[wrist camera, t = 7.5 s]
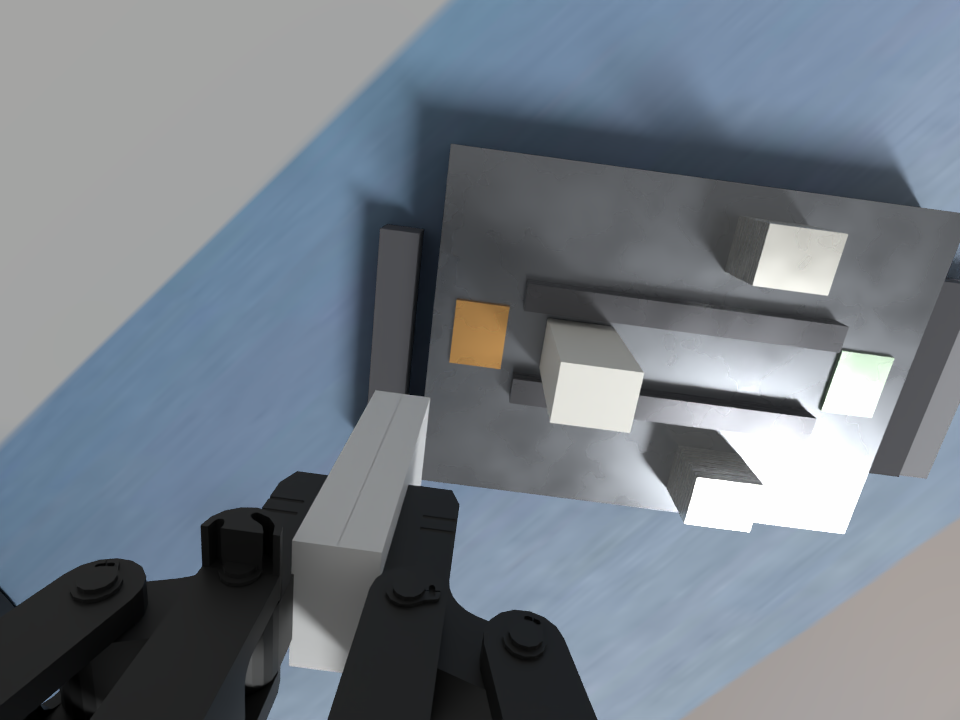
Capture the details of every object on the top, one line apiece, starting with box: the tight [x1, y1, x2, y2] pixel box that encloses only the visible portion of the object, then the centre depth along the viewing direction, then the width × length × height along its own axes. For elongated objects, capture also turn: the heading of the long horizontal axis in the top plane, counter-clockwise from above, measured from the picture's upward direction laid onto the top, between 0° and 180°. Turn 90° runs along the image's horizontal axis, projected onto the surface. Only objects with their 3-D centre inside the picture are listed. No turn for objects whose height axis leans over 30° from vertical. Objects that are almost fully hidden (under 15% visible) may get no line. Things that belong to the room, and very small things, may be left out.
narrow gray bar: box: [869, 278, 960, 479], centre depth 29 cm, size 3×10×2 cm, turn 173°
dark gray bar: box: [368, 224, 424, 403], centre depth 30 cm, size 2×12×2 cm, turn 173°
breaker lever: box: [539, 318, 644, 433], centre depth 24 cm, size 3×2×6 cm
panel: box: [421, 144, 960, 534], centre depth 27 cm, size 22×16×6 cm
